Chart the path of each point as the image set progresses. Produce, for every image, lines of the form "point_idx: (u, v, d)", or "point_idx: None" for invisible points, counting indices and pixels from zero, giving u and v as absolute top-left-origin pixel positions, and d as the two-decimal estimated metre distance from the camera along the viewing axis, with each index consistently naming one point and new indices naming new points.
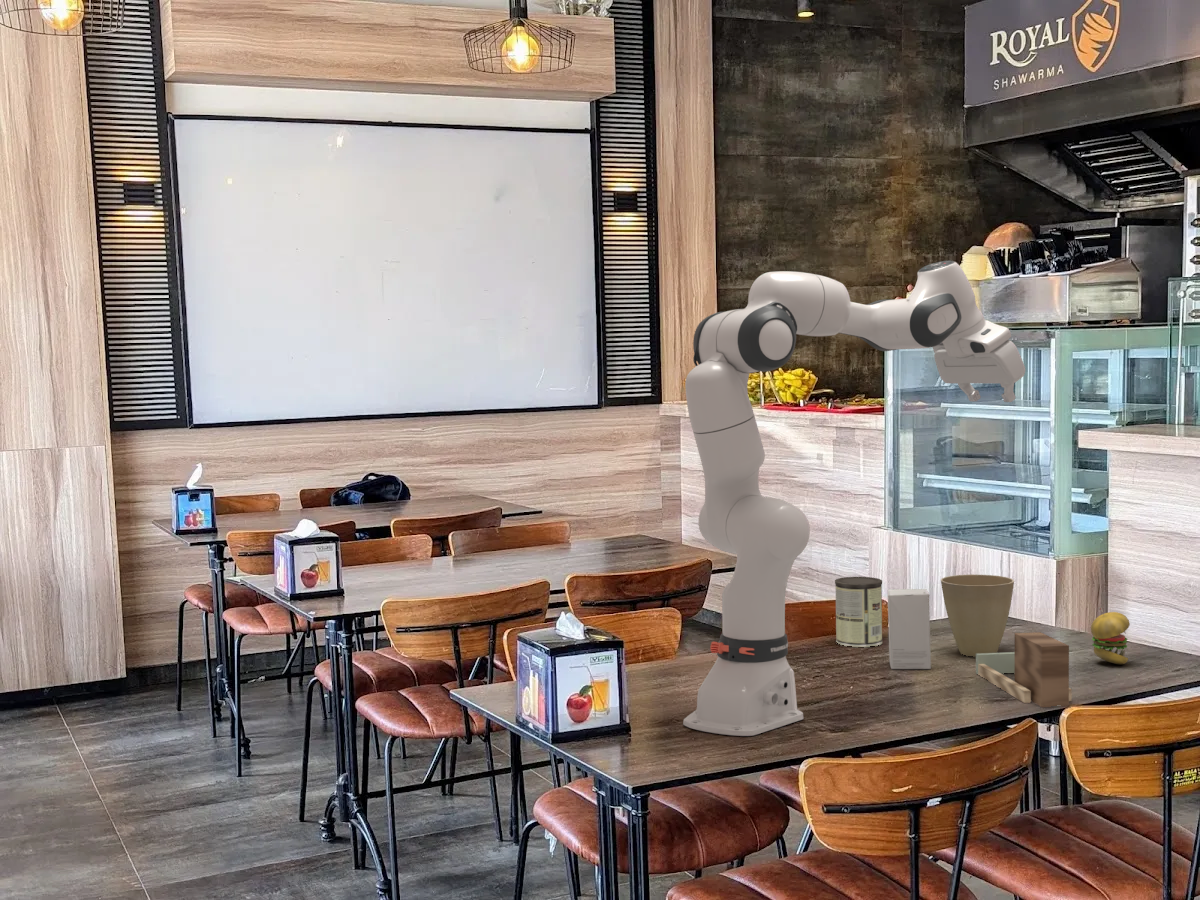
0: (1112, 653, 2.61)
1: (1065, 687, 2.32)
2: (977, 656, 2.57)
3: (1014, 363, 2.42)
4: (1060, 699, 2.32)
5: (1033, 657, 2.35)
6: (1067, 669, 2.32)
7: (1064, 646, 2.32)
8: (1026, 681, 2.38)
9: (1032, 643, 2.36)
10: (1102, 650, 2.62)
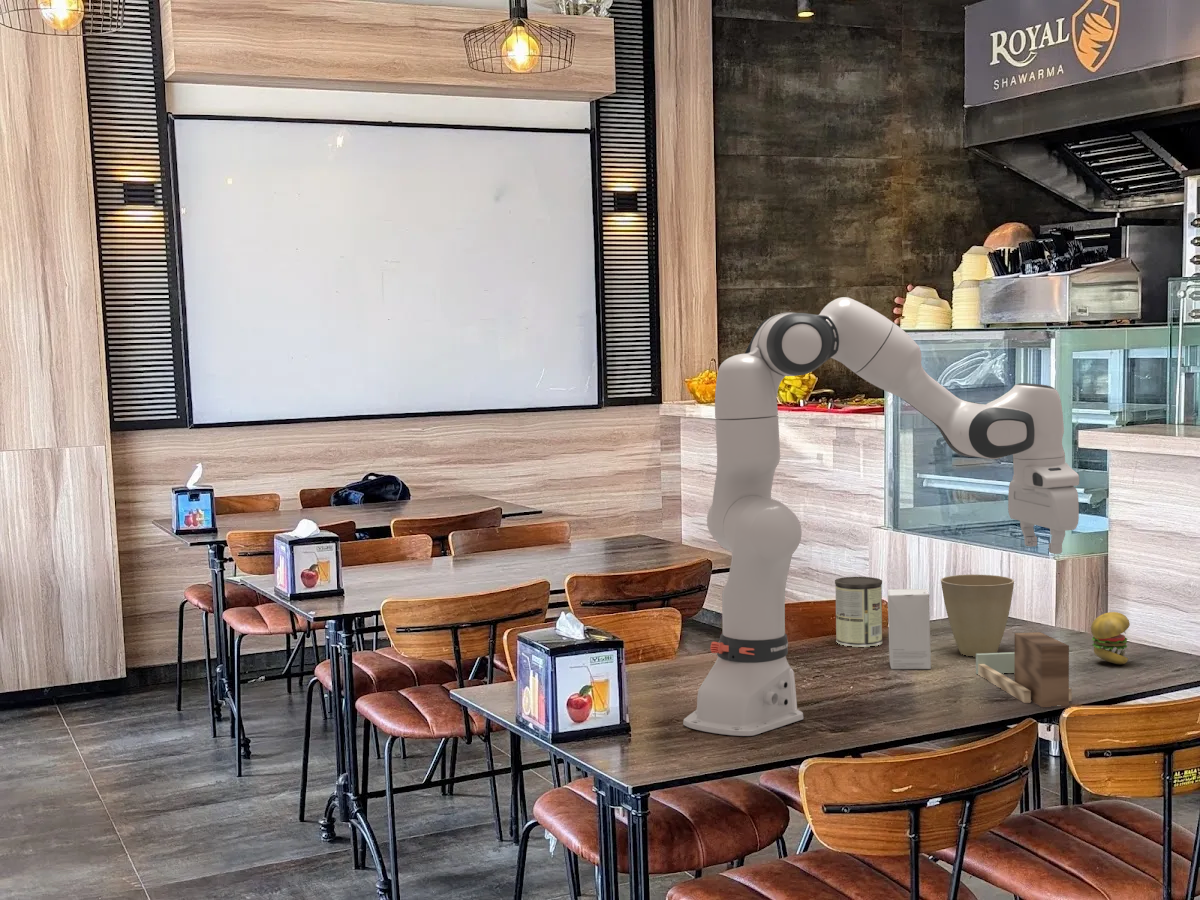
0: (1112, 653, 2.61)
1: (1065, 687, 2.32)
2: (977, 656, 2.57)
3: (1067, 510, 2.23)
4: (1060, 699, 2.32)
5: (1033, 657, 2.35)
6: (1067, 669, 2.32)
7: (1064, 646, 2.32)
8: (1026, 681, 2.38)
9: (1032, 643, 2.36)
10: (1102, 650, 2.62)
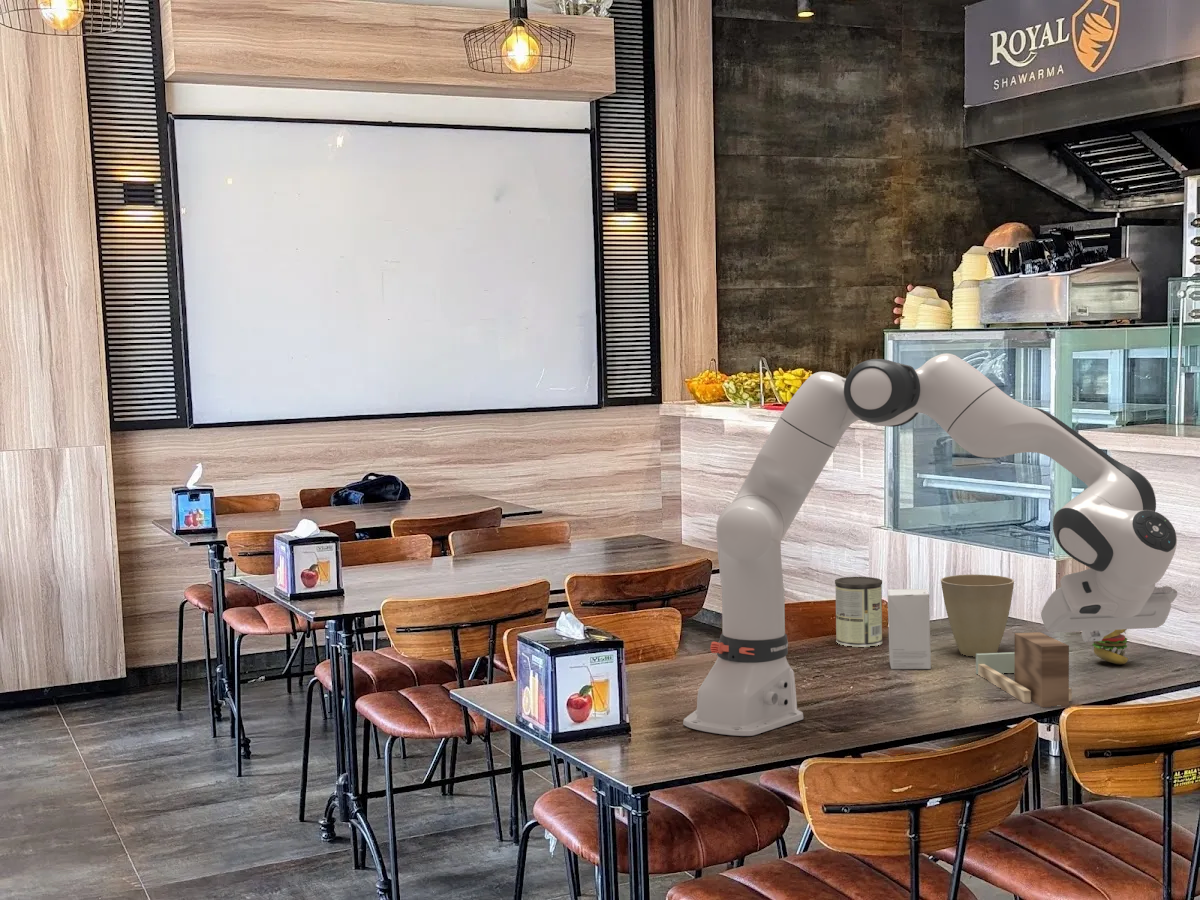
0: (1112, 653, 2.61)
1: (1065, 687, 2.32)
2: (977, 656, 2.57)
3: (1048, 612, 2.11)
4: (1060, 699, 2.32)
5: (1033, 657, 2.35)
6: (1067, 669, 2.32)
7: (1064, 646, 2.32)
8: (1026, 681, 2.38)
9: (1032, 643, 2.36)
10: (1102, 650, 2.62)
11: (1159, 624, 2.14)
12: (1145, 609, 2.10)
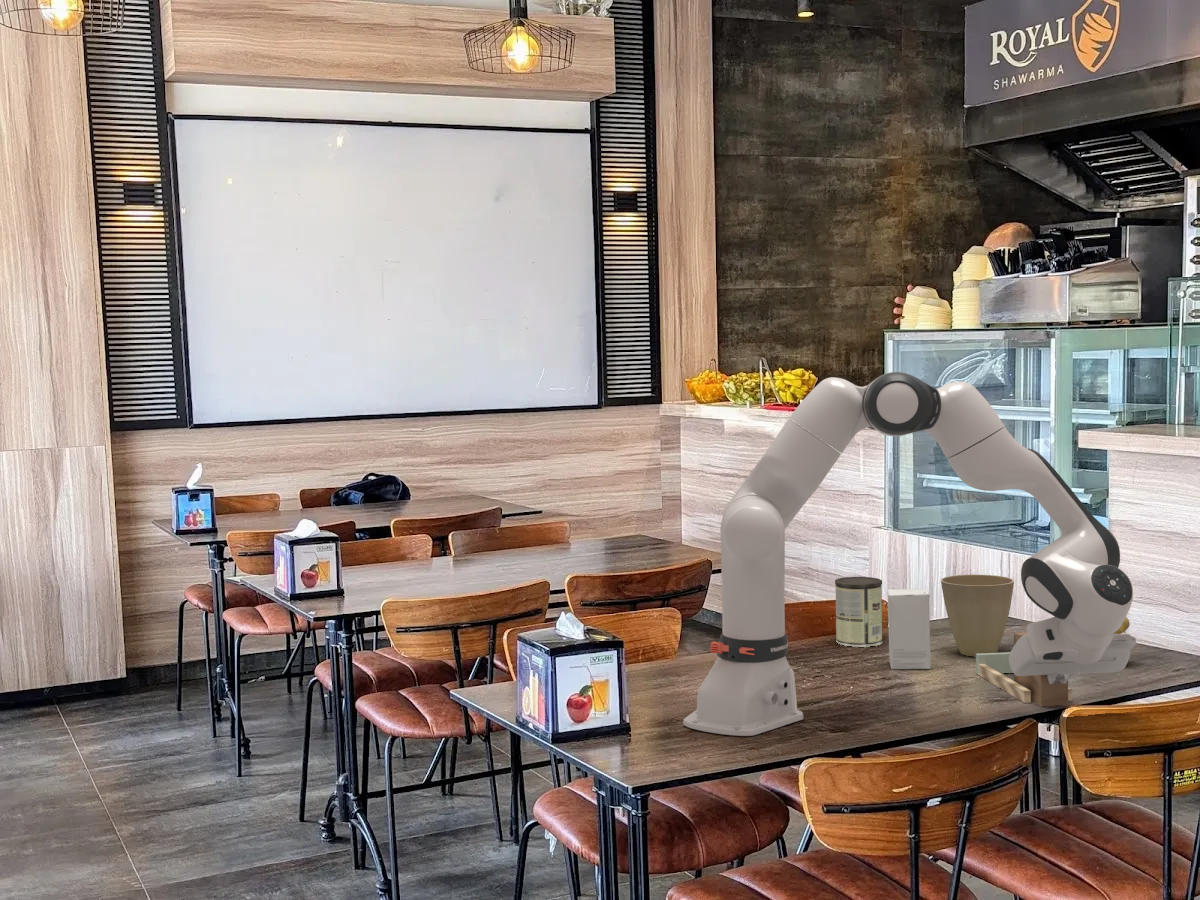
0: None
1: (1064, 686, 2.33)
2: (977, 656, 2.57)
3: (1015, 657, 2.25)
4: (1059, 699, 2.33)
5: None
6: None
7: None
8: (1026, 680, 2.39)
9: None
10: None
11: (1120, 669, 2.27)
12: (1106, 655, 2.23)
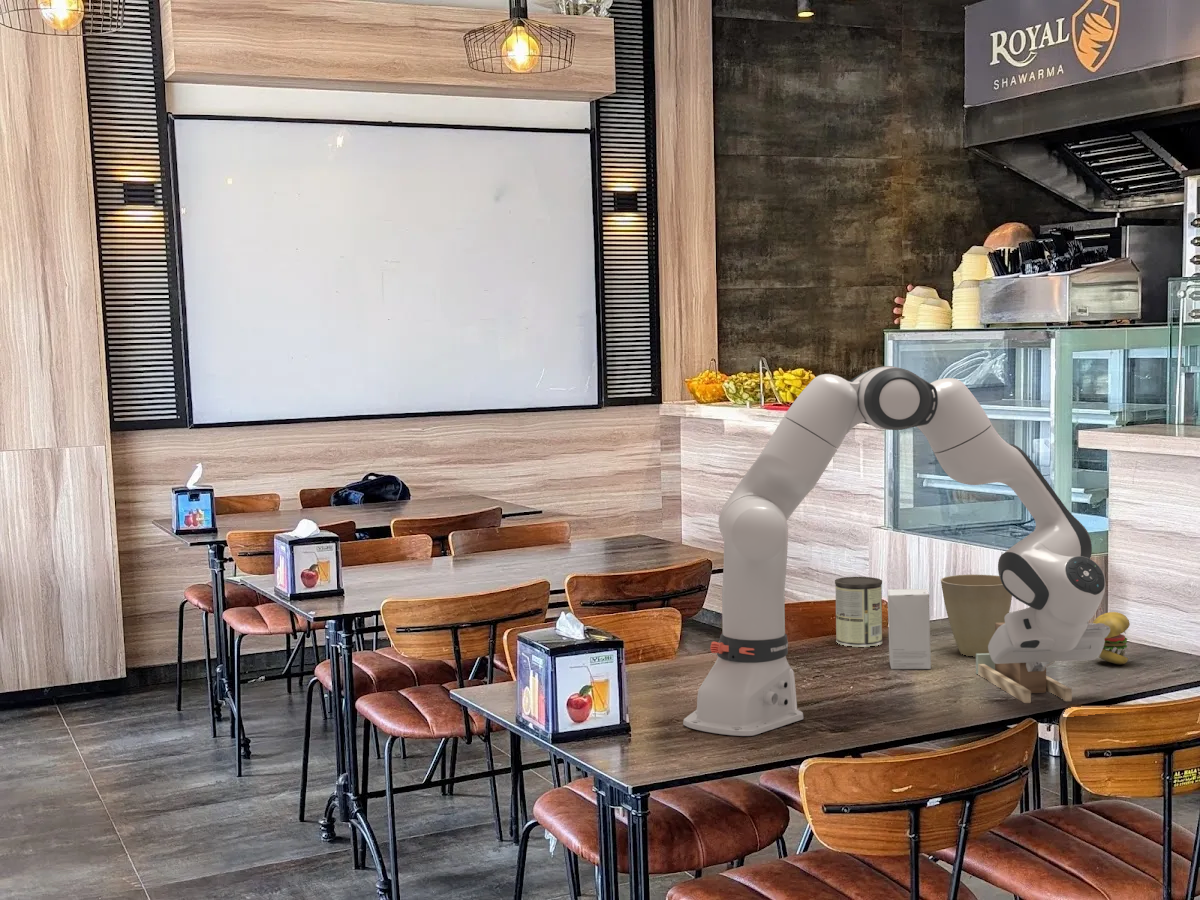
0: (1112, 653, 2.61)
1: (1042, 674, 2.42)
2: (977, 656, 2.57)
3: (994, 645, 2.34)
4: (1037, 686, 2.42)
5: None
6: None
7: None
8: (1006, 668, 2.48)
9: None
10: (1102, 650, 2.62)
11: (1095, 657, 2.36)
12: (1081, 643, 2.32)
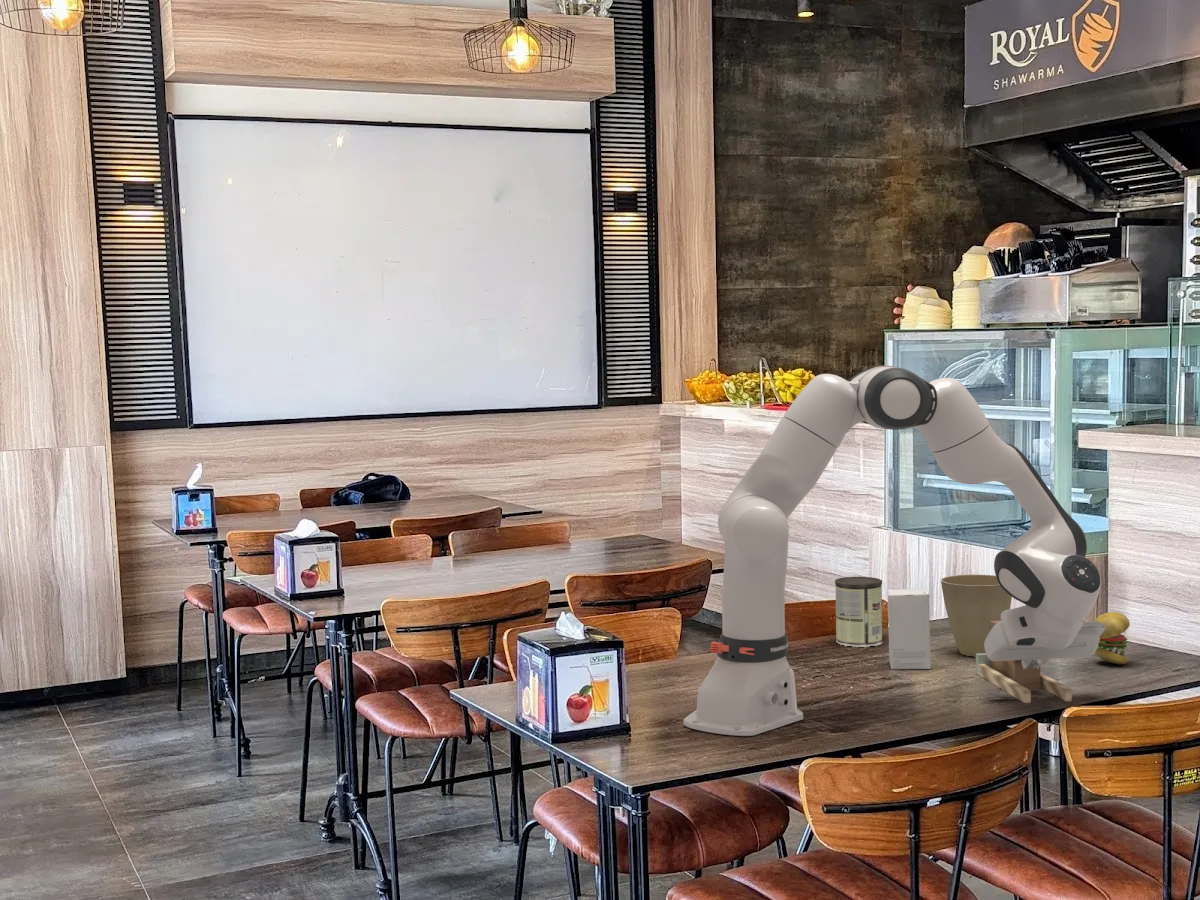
0: (1112, 653, 2.61)
1: (1037, 671, 2.44)
2: (977, 656, 2.57)
3: (990, 643, 2.36)
4: (1032, 683, 2.44)
5: None
6: None
7: None
8: (1000, 666, 2.51)
9: None
10: (1102, 650, 2.62)
11: (1090, 654, 2.38)
12: (1076, 641, 2.34)
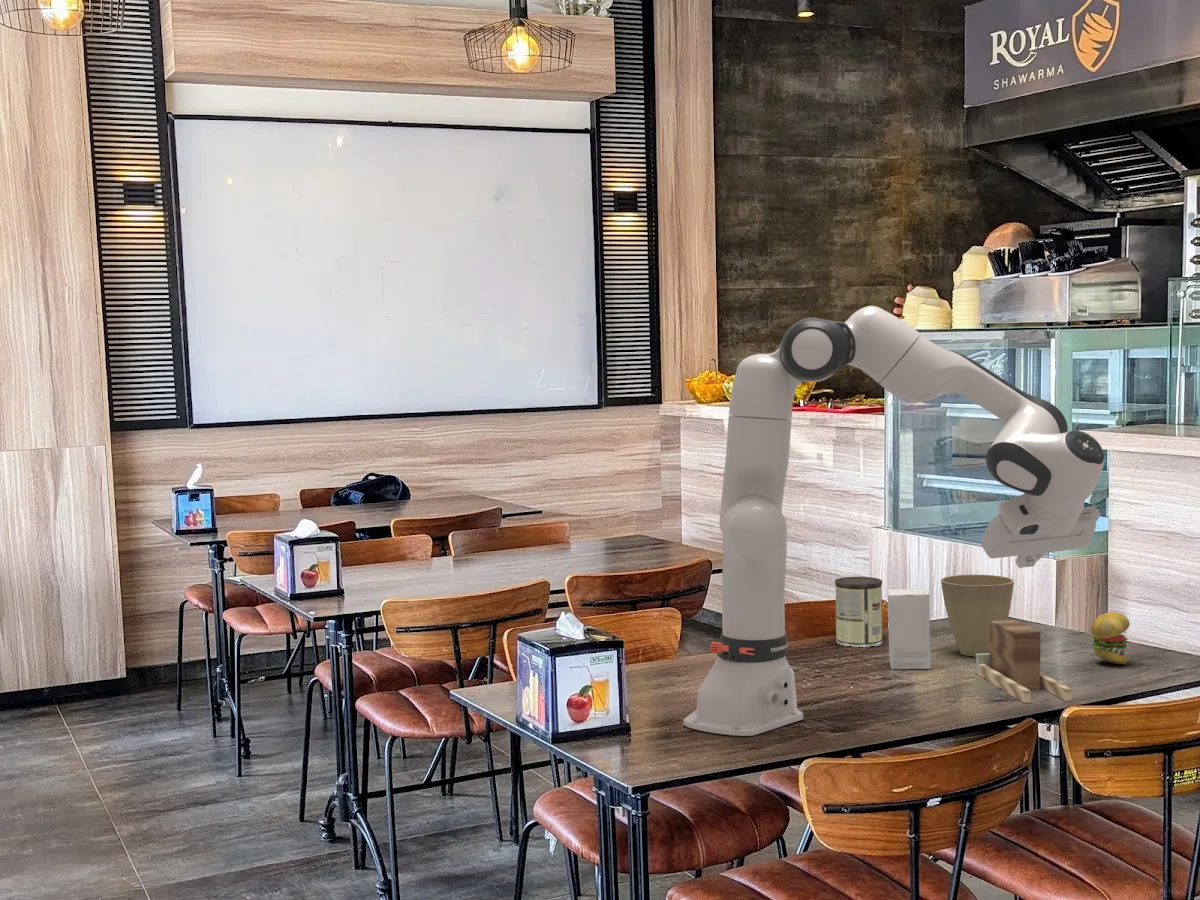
0: (1112, 653, 2.61)
1: (1037, 671, 2.44)
2: (977, 656, 2.57)
3: (989, 538, 2.26)
4: (1032, 683, 2.44)
5: (1006, 644, 2.47)
6: (1039, 654, 2.44)
7: (1036, 632, 2.44)
8: (1000, 666, 2.51)
9: (1006, 630, 2.48)
10: (1102, 650, 2.62)
11: (1085, 544, 2.30)
12: (1074, 528, 2.26)
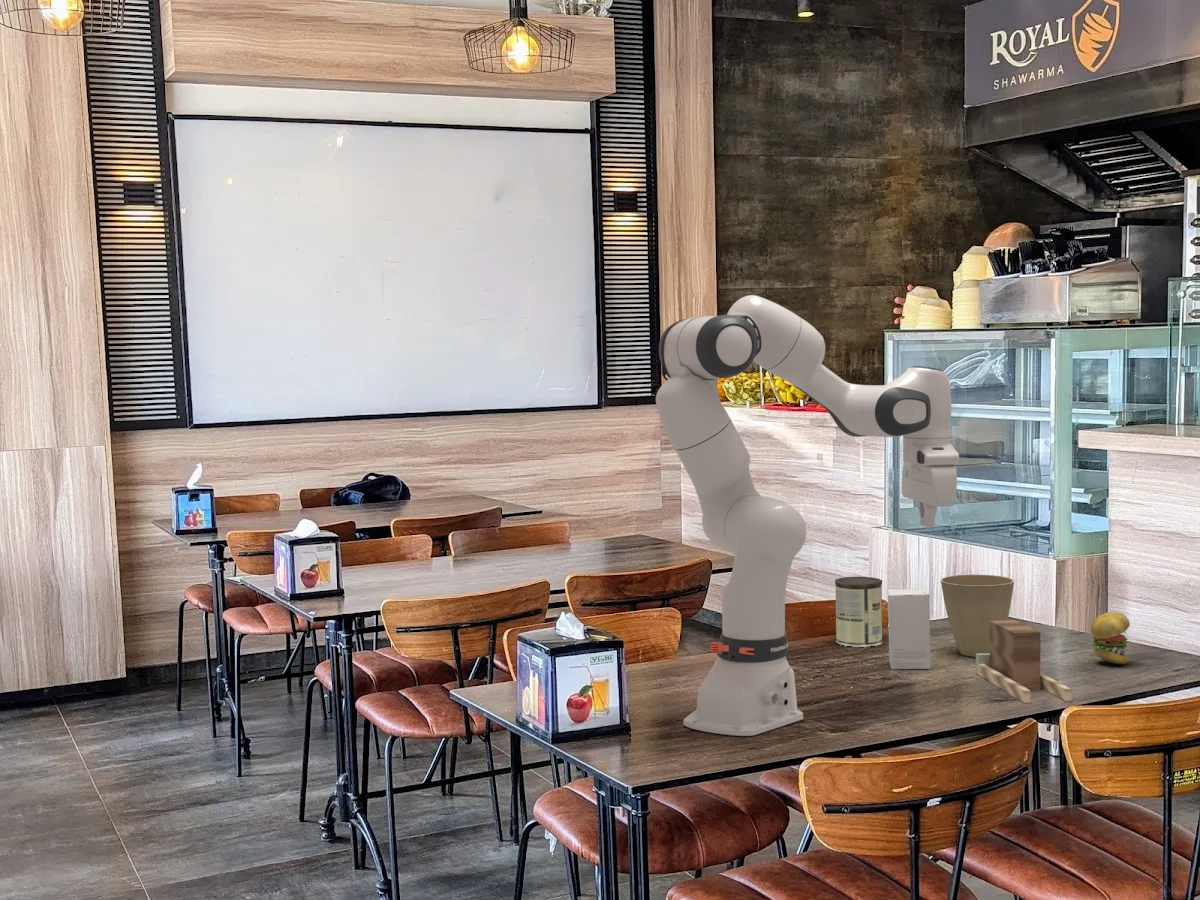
0: (1112, 653, 2.61)
1: (1037, 671, 2.44)
2: (977, 656, 2.57)
3: (945, 487, 2.34)
4: (1032, 683, 2.44)
5: (1006, 644, 2.47)
6: (1039, 654, 2.44)
7: (1036, 632, 2.44)
8: (1000, 666, 2.51)
9: (1006, 630, 2.48)
10: (1102, 650, 2.62)
11: None
12: None
